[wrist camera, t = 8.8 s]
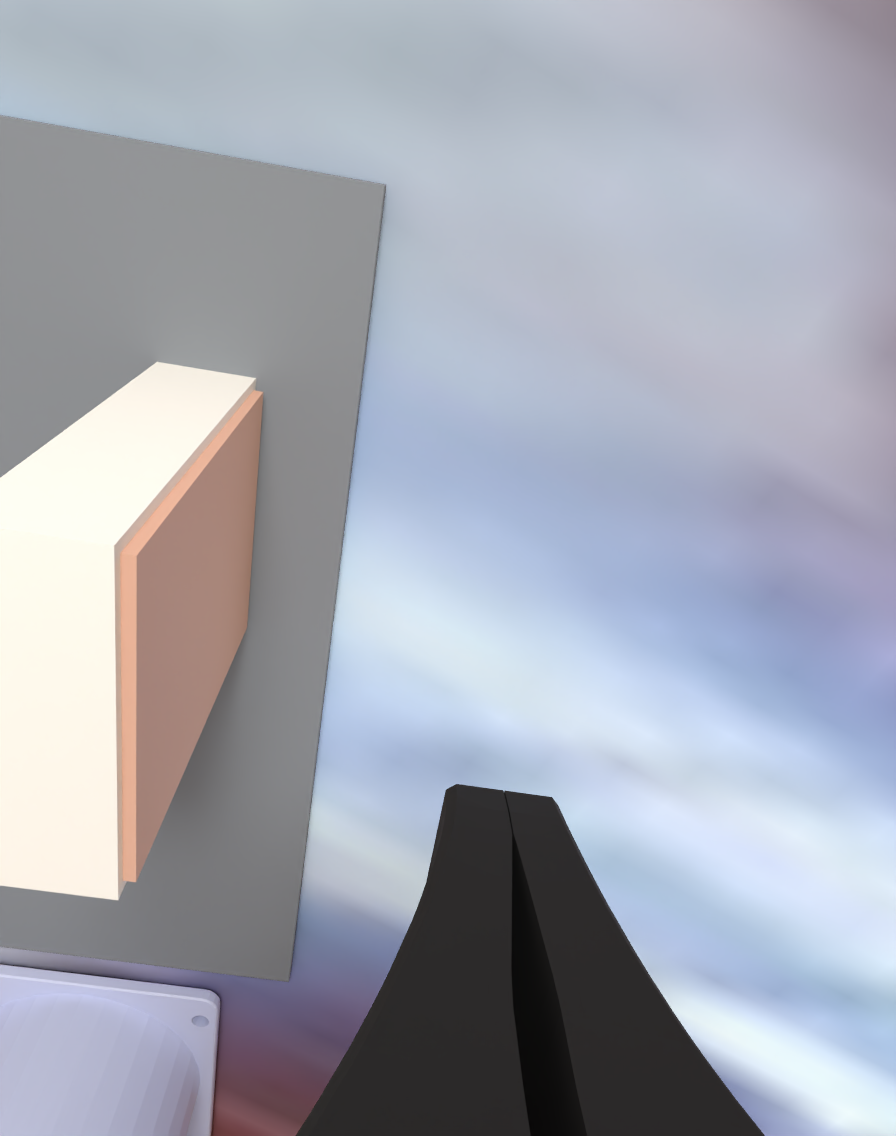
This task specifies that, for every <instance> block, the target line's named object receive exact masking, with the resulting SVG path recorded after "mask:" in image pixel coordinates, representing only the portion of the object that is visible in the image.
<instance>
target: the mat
mask: <svg viewBox="0 0 896 1136" xmlns="http://www.w3.org/2000/svg"><path fill="white" fill-rule="evenodd" d="M385 190H386V185H385V184H380V183H374V182H369V181H363V180H357V179H352V178H346V177H341V176H335V175H330V174H324V173H319V172H313V171H308V170H302V169H297V168H291V167H285V166H280V165H274V164H269V163H263V162H258V161H252V160H247V159H241V158H236V157H230V156H225V155H219V154H213V153H208V152H202V151H197V150H191V149H186V148H180V147H175V146H169V145H164V144H158V143H153V142H147V141H141V140H136V139H130V138H125V137H119V136H114V135H108V134H103V133H97V132H92V131H86V130H81V129H75V128H69V127H64V126H58V125H53V124H47V123H42V122H36V121H31V120H25V119H20V118H14V117H9V116H3V115H0V478H1V477H2V476H3V475H5V474H6V473H7V472H9V471H10V470H11V469H13V468H14V467H16V466H17V465H18V464H20V463H21V462H22V461H24V460H25V459H26V458H28V457H29V456H30V455H32V454H33V453H34V452H36V451H37V450H39V449H40V448H41V447H43V446H44V445H45V444H47V443H48V442H49V441H51V440H52V439H53V438H55V437H56V436H57V435H59V434H60V433H62V432H63V431H64V430H66V429H67V428H68V427H70V426H71V425H72V424H74V423H75V422H76V421H78V420H79V419H80V418H82V417H83V416H85V415H86V414H87V413H89V412H90V411H91V410H93V409H94V408H95V407H97V406H98V405H99V404H101V403H102V402H103V401H105V400H106V399H107V398H109V397H110V396H112V395H113V394H114V393H116V392H117V391H118V390H120V389H121V388H122V387H124V386H125V385H126V384H128V383H129V382H130V381H132V380H133V379H135V378H136V377H137V376H139V375H140V374H141V373H143V372H144V371H145V370H147V369H148V368H149V367H151V366H152V365H153V364H155V363H156V362H161V363H167V364H173V365H179V366H185V367H191V368H198V369H204V370H210V371H216V372H222V373H228V374H234V375H240V376H246V377H252V378H256V390H255V391H261V392H263V405H262V420H261V434H260V449H259V463H258V478H257V492H256V506H255V521H254V535H253V550H252V564H251V579H250V593H249V608H248V622H247V629H246V631H245V633H244V636H243V638H242V640H241V643H240V645H239V647H238V649H237V652H236V654H235V656H234V659H233V661H232V663H231V666H230V668H229V670H228V672H227V675H226V677H225V679H224V682H223V684H222V686H221V688H220V691H219V693H218V695H217V698H216V700H215V702H214V705H213V707H212V709H211V711H210V714H209V716H208V718H207V721H206V723H205V725H204V728H203V730H202V732H201V734H200V737H199V739H198V741H197V744H196V746H195V748H194V750H193V753H192V755H191V757H190V760H189V762H188V764H187V767H186V769H185V771H184V773H183V776H182V778H181V780H180V783H179V785H178V787H177V790H176V792H175V794H174V796H173V799H172V801H171V803H170V806H169V808H168V810H167V812H166V815H165V817H164V819H163V822H162V824H161V826H160V829H159V831H158V833H157V835H156V838H155V840H154V842H153V845H152V847H151V849H150V852H149V854H148V856H147V858H146V861H145V863H144V865H143V868H142V870H141V872H140V874H139V877H138V879H137V881H136V882H130V881H127V882H126V884H125V886H124V889H123V891H122V893H121V895H120V898H119V900H111V899H103V898H95V897H87V896H79V895H72V894H64V893H56V892H48V891H40V890H32V889H24V888H16V887H8V886H0V947H7V948H15V949H23V950H31V951H40V952H48V953H56V954H64V955H72V956H81V957H89V958H97V959H105V960H113V961H122V962H130V963H138V964H146V965H154V966H163V967H171V968H179V969H187V970H195V971H204V972H212V973H220V974H228V975H236V976H245V977H253V978H261V979H269V980H278V981H286V982H289V977H290V972H291V966H292V957H293V949H294V941H295V933H296V924H297V916H298V908H299V900H300V891H301V883H302V875H303V867H304V858H305V850H306V842H307V834H308V825H309V817H310V809H311V801H312V792H313V784H314V776H315V768H316V759H317V751H318V743H319V735H320V726H321V718H322V710H323V702H324V693H325V685H326V677H327V669H328V660H329V652H330V644H331V636H332V627H333V619H334V611H335V603H336V594H337V586H338V578H339V570H340V561H341V553H342V545H343V537H344V528H345V520H346V512H347V504H348V495H349V487H350V479H351V471H352V462H353V454H354V446H355V438H356V429H357V421H358V413H359V405H360V396H361V388H362V380H363V372H364V363H365V355H366V347H367V339H368V330H369V322H370V314H371V306H372V297H373V289H374V281H375V273H376V264H377V256H378V248H379V240H380V231H381V223H382V215H383V207H384V198H385Z"/></svg>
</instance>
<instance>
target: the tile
mask: <svg viewBox="0 0 896 1136" xmlns="http://www.w3.org/2000/svg"><path fill="white" fill-rule="evenodd" d="M255 390H256V378H252V377H246V376H240V375H234V374H228V373H222V372H216V371H210V370H204V369H198V368H191V367H185V366H179V365H173V364H167V363H161V362H156V363H155V364H153V365H152V366H151V367H149V368H148V369H147V370H145V371H144V372H143V373H141V374H140V375H139V376H137V377H136V378H135V379H133V380H132V381H130V382H129V383H128V384H126V385H125V386H124V387H122V388H121V389H120V390H118V391H117V392H116V393H114V394H113V395H112V396H110V397H109V398H107V399H106V400H105V401H103V402H102V403H101V404H99V405H98V406H97V407H95V408H94V409H93V410H91V411H90V412H89V413H87V414H86V415H85V416H83V417H82V418H80V419H79V420H78V421H76V422H75V423H74V424H72V425H71V426H70V427H68V428H67V429H66V430H64V431H63V432H62V433H60V434H59V435H57V436H56V437H55V438H53V439H52V440H51V441H49V442H48V443H47V444H45V445H44V446H43V447H41V448H40V449H39V450H37V451H36V452H34V453H33V454H32V455H30V456H29V457H28V458H26V459H25V460H24V461H22V462H21V463H20V464H18V465H17V466H16V467H14V468H13V469H11V470H10V471H9V472H7V473H6V474H5V475H3V476H2V477H1V478H0V886H8V887H16V888H24V889H32V890H40V891H48V892H56V893H64V894H72V895H79V896H87V897H95V898H103V899H111V900H119V898H120V895H121V893H122V891H123V889H124V886H125V884H126V882H127V881H130V882H136V881H137V879H138V877H139V874H140V872H141V870H142V868H143V865H144V863H145V861H146V858H147V856H148V854H149V852H150V849H151V847H152V845H153V842H154V840H155V838H156V835H157V833H158V831H159V829H160V826H161V824H162V822H163V819H164V817H165V815H166V812H167V810H168V808H169V806H170V803H171V801H172V799H173V796H174V794H175V792H176V790H177V787H178V785H179V783H180V780H181V778H182V776H183V773H184V771H185V769H186V767H187V764H188V762H189V760H190V757H191V755H192V753H193V750H194V748H195V746H196V744H197V741H198V739H199V737H200V734H201V732H202V730H203V728H204V725H205V723H206V721H207V718H208V716H209V714H210V711H211V709H212V707H213V705H214V702H215V700H216V698H217V695H218V693H219V691H220V688H221V686H222V684H223V682H224V679H225V677H226V675H227V672H228V670H229V668H230V666H231V663H232V661H233V659H234V656H235V654H236V652H237V649H238V647H239V645H240V643H241V640H242V638H243V636H244V633H245V631H246V629H247V622H248V608H249V593H250V579H251V564H252V550H253V535H254V521H255V506H256V492H257V478H258V463H259V449H260V434H261V420H262V405H263V392H261V391H255Z"/></svg>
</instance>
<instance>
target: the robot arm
mask: <svg viewBox="0 0 896 1136" xmlns="http://www.w3.org/2000/svg"><path fill="white" fill-rule="evenodd" d="M219 1014H220V999H219V997H218V996H217V995H216V994H215V993H214V992H212V991H211V990H207V989H200V988H192V987H184V986H175V985H167V984H159V983H150V982H142V981H134V980H126V979H117V978H109V977H101V976H92V975H84V974H76V973H67V972H59V971H51V970H43V969H34V968H26V967H18V966H9V965H1V964H0V1136H211V1131H212V1116H213V1102H214V1087H215V1072H216V1058H217V1043H218V1029H219ZM296 1136H765V1135H764V1134H763V1133H762V1132H761V1130H760V1129H759V1128H758V1127H757V1125H756V1124H755V1123H754V1121H753V1120H752V1119H751V1118H750V1116H749V1115H748V1114H747V1113H746V1111H745V1110H744V1109H743V1108H742V1106H741V1105H740V1104H739V1103H738V1101H737V1100H736V1099H735V1097H734V1096H733V1095H732V1093H731V1092H730V1091H729V1089H728V1088H727V1087H726V1085H725V1084H724V1083H723V1081H722V1080H721V1079H720V1077H719V1076H718V1075H717V1073H716V1072H715V1071H714V1069H713V1068H712V1067H711V1065H710V1064H709V1063H708V1061H707V1060H706V1059H705V1057H704V1056H703V1054H702V1053H701V1052H700V1050H699V1049H698V1047H697V1046H696V1044H695V1043H694V1042H693V1040H692V1039H691V1037H690V1036H689V1035H688V1033H687V1032H686V1030H685V1029H684V1027H683V1026H682V1024H681V1023H680V1021H679V1020H678V1018H677V1017H676V1015H675V1014H674V1012H673V1011H672V1009H671V1008H670V1006H669V1005H668V1003H667V1002H666V1000H665V999H664V997H663V995H662V994H661V992H660V991H659V989H658V988H657V986H656V985H655V983H654V982H653V980H652V978H651V977H650V975H649V974H648V972H647V970H646V969H645V967H644V965H643V964H642V962H641V961H640V959H639V957H638V956H637V954H636V952H635V951H634V949H633V947H632V946H631V944H630V942H629V940H628V939H627V937H626V935H625V933H624V932H623V930H622V928H621V926H620V925H619V923H618V921H617V920H616V918H615V916H614V914H613V913H612V911H611V909H610V907H609V906H608V904H607V902H606V900H605V898H604V896H603V895H602V893H601V891H600V889H599V887H598V885H597V884H596V882H595V880H594V878H593V876H592V874H591V872H590V870H589V868H588V866H587V864H586V862H585V860H584V858H583V856H582V854H581V852H580V850H579V848H578V846H577V844H576V842H575V840H574V838H573V836H572V834H571V832H570V830H569V828H568V826H567V824H566V822H565V819H564V817H563V815H562V813H561V811H560V809H559V806H558V805H557V803H556V802H555V801H554V799H553V798H552V797H546V796H539V795H532V794H525V793H517V792H510V791H505V792H504V791H503V790H496V789H488V788H481V787H474V786H467V785H459V784H456V785H454V786H452V787H450V788H448V789H447V790H446V792H445V797H444V802H443V806H442V811H441V816H440V820H439V825H438V830H437V835H436V839H435V844H434V849H433V854H432V858H431V863H430V868H429V872H428V877H427V882H426V885H425V888H424V891H423V894H422V896H421V899H420V902H419V905H418V907H417V910H416V912H415V915H414V917H413V920H412V922H411V924H410V927H409V929H408V931H407V933H406V936H405V938H404V940H403V942H402V944H401V947H400V949H399V951H398V953H397V956H396V958H395V960H394V962H393V964H392V967H391V969H390V971H389V973H388V975H387V977H386V979H385V981H384V983H383V985H382V987H381V989H380V991H379V993H378V995H377V997H376V999H375V1001H374V1003H373V1005H372V1007H371V1009H370V1011H369V1013H368V1015H367V1016H366V1018H365V1020H364V1022H363V1024H362V1026H361V1027H360V1029H359V1031H358V1033H357V1035H356V1037H355V1038H354V1040H353V1042H352V1044H351V1046H350V1047H349V1049H348V1051H347V1053H346V1054H345V1056H344V1058H343V1059H342V1061H341V1063H340V1064H339V1066H338V1068H337V1070H336V1071H335V1073H334V1075H333V1076H332V1078H331V1080H330V1081H329V1083H328V1085H327V1086H326V1088H325V1090H324V1091H323V1093H322V1095H321V1097H320V1098H319V1100H318V1101H317V1103H316V1105H315V1106H314V1108H313V1109H312V1111H311V1113H310V1114H309V1116H308V1117H307V1119H306V1121H305V1122H304V1124H303V1125H302V1127H301V1128H300V1130H299V1132H298V1133H297V1135H296Z"/></svg>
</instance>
